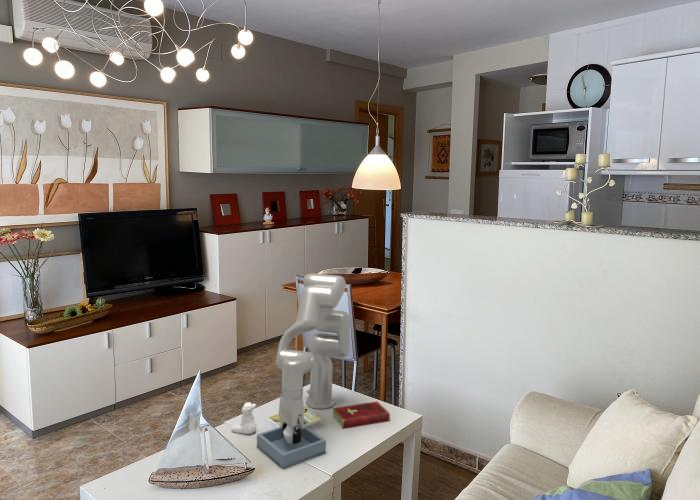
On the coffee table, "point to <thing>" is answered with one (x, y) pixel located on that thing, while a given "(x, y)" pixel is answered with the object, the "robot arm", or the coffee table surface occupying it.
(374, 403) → the hardcover book
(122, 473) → the coffee table surface
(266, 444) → the bin
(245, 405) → the white creature statuette
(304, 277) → the robot arm
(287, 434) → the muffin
